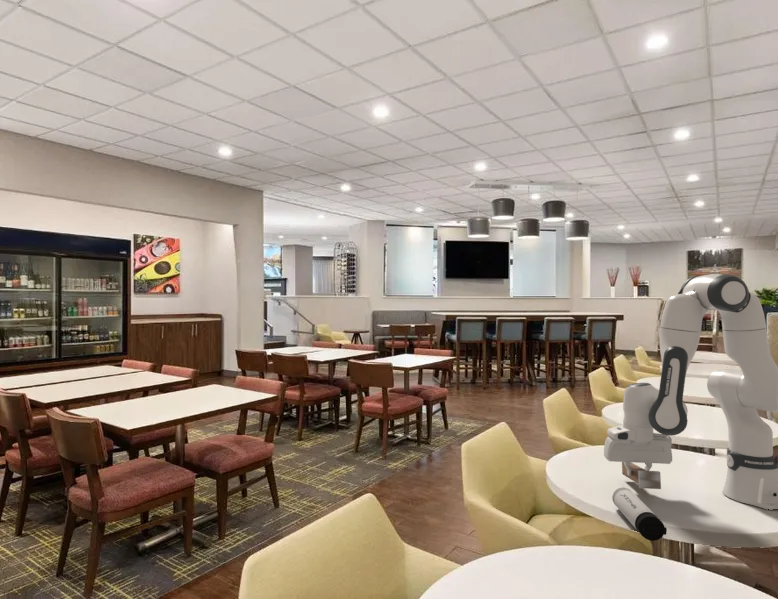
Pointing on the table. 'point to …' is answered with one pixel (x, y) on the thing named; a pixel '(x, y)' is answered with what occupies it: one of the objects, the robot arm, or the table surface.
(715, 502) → the table surface
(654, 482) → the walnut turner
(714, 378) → the robot arm
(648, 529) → the travel mug
